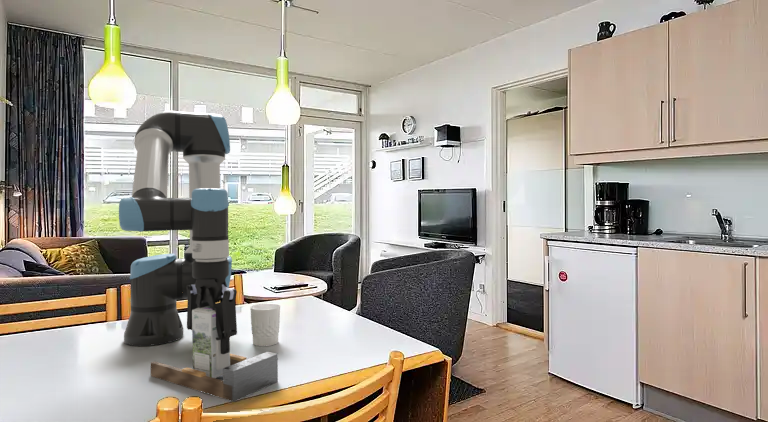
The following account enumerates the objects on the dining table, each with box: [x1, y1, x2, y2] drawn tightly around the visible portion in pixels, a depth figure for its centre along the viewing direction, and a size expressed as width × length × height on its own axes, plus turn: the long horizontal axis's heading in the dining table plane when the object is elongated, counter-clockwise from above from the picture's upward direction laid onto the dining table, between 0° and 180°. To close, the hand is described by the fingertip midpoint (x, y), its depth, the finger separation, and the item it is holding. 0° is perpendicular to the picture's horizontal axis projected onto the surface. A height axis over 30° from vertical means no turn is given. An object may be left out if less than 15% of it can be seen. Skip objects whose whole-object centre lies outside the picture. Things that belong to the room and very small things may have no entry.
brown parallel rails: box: [150, 353, 248, 402], centre depth 105 cm, size 26×12×4 cm, turn 59°
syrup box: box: [191, 306, 231, 379], centre depth 104 cm, size 6×6×14 cm
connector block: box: [222, 351, 279, 402], centre depth 98 cm, size 3×12×6 cm, turn 149°
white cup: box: [249, 302, 281, 347], centre depth 130 cm, size 8×8×10 cm
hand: (211, 365), depth 104 cm, fingers closed on syrup box, 6 cm apart
